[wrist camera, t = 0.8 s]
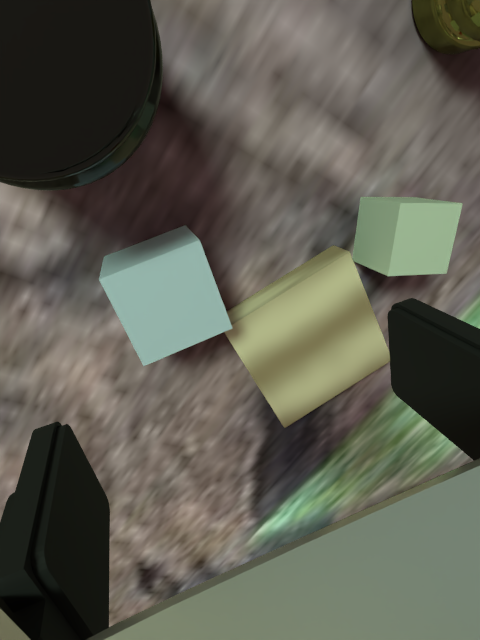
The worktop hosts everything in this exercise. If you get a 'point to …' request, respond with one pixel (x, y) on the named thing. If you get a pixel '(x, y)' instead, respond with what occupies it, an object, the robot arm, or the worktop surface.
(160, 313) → the blue cube
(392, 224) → the sage block
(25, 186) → the supplement container
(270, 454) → the worktop surface
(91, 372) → the worktop surface
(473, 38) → the olive pawn figure
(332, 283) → the maple slab
